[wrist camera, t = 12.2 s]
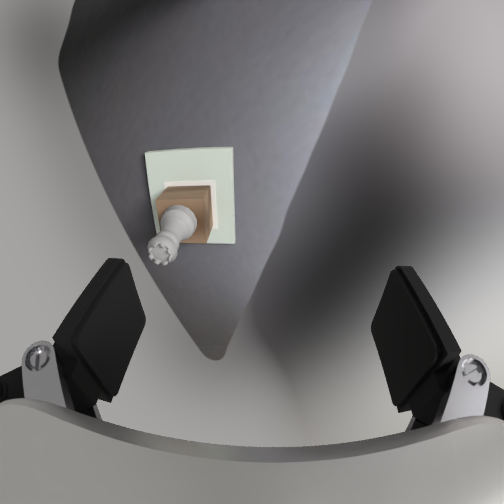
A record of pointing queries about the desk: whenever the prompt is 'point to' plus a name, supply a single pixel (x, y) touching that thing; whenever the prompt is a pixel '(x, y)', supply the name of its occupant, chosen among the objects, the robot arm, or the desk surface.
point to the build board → (197, 182)
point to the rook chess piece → (172, 234)
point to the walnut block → (196, 202)
